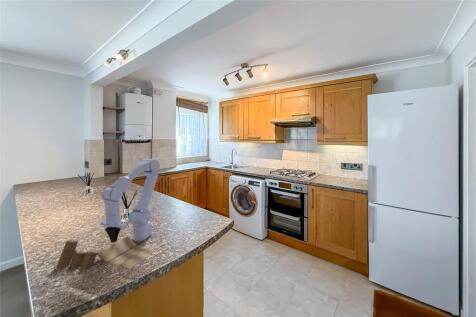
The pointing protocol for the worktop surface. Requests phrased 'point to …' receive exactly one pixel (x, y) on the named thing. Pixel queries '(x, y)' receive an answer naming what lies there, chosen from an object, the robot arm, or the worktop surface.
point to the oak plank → (115, 249)
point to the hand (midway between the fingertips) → (114, 241)
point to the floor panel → (133, 260)
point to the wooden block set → (75, 257)
